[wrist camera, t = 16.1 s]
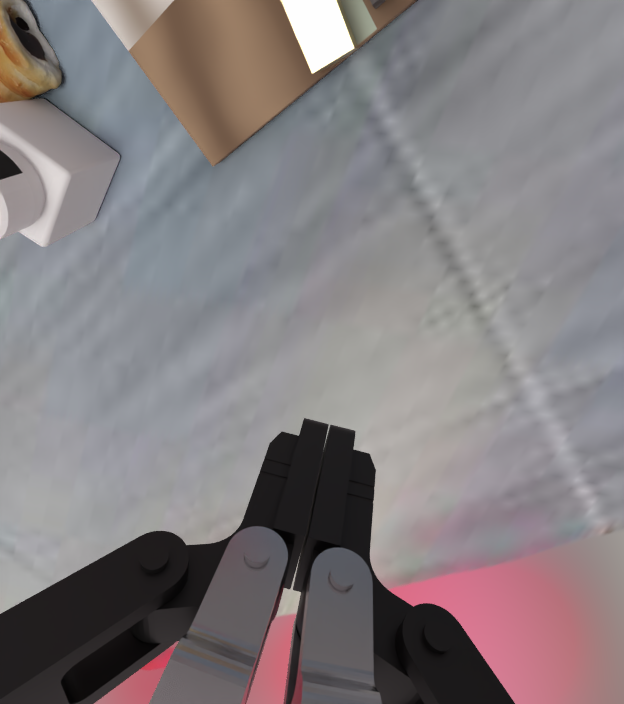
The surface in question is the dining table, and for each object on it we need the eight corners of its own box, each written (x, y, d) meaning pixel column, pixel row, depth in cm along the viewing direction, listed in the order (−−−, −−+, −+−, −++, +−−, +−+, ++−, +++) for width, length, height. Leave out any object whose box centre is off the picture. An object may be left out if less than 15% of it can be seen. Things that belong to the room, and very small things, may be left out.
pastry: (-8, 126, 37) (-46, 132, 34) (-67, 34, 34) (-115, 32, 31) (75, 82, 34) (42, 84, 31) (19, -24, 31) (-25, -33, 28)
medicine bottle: (22, 170, 39) (-108, 210, 29) (43, 95, 35) (-99, 111, 25) (95, 222, 40) (-5, 275, 31) (123, 155, 37) (19, 191, 27)
